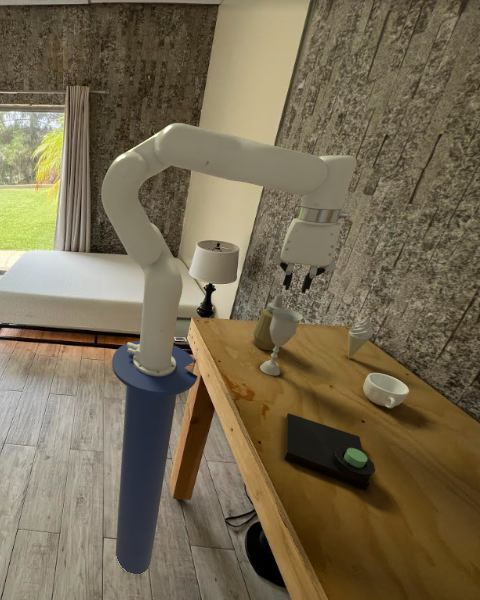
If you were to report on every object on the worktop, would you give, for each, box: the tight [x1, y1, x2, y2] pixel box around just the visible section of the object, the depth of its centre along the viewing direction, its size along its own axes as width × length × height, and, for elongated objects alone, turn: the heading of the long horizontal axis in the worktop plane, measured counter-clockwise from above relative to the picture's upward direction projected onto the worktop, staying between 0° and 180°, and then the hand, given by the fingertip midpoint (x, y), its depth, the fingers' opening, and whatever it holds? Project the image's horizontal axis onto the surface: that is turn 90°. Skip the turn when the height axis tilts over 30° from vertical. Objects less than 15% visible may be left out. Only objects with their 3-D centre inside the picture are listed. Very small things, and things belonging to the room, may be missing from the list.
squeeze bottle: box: [253, 293, 286, 351], centre depth 97 cm, size 8×8×18 cm
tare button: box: [344, 448, 368, 468], centre depth 59 cm, size 3×3×2 cm
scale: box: [283, 412, 376, 491], centre depth 65 cm, size 13×12×4 cm
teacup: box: [362, 372, 410, 409], centre depth 77 cm, size 10×8×5 cm
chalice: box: [259, 307, 304, 376], centre depth 86 cm, size 7×7×18 cm
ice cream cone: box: [347, 314, 374, 359], centre depth 91 cm, size 5×5×15 cm
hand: (295, 289), depth 79 cm, fingers closed
